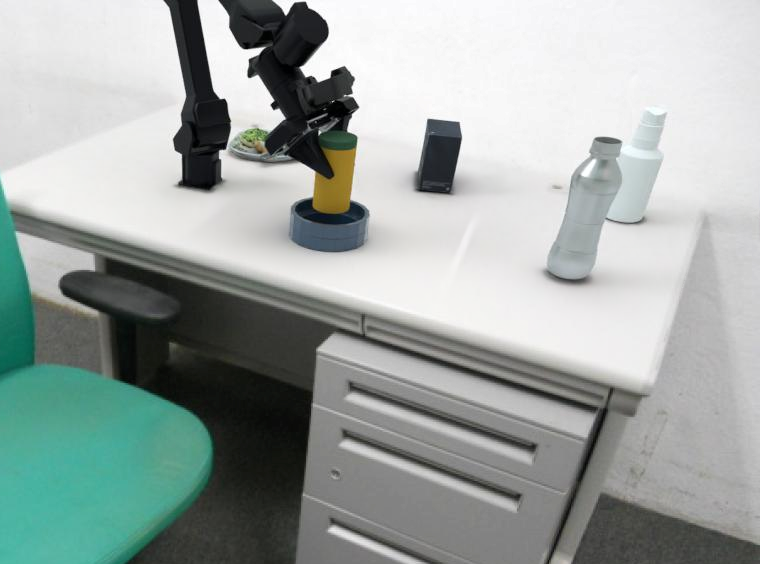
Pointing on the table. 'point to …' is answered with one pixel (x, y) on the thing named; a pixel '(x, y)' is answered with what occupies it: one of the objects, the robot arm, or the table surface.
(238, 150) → the salad plate
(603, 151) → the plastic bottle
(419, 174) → the small box
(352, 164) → the green-capped yellow cylinder
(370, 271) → the table surface
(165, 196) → the table surface
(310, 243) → the bowl
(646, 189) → the spray bottle
